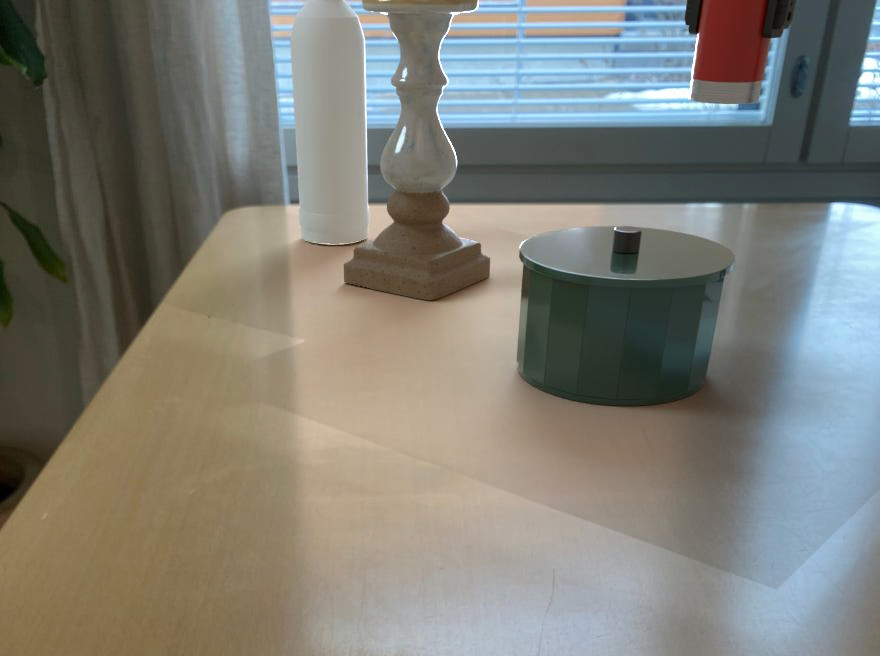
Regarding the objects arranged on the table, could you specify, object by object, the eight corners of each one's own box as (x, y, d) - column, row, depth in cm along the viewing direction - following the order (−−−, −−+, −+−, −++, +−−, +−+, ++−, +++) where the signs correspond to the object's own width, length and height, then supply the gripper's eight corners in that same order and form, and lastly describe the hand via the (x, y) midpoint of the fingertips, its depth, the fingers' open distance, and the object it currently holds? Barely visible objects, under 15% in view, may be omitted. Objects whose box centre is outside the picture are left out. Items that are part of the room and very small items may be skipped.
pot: (581, 329, 86) (592, 226, 81) (737, 367, 78) (760, 256, 73) (481, 374, 77) (486, 261, 72) (646, 422, 69) (665, 299, 64)
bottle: (382, 240, 112) (379, -87, 94) (323, 249, 108) (308, -88, 91) (345, 226, 117) (336, -85, 100) (288, 235, 113) (267, -86, 96)
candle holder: (404, 259, 105) (405, -8, 91) (492, 275, 99) (506, -5, 86) (341, 283, 97) (331, -4, 84) (432, 301, 92) (438, -1, 78)
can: (745, 95, 83) (768, -34, 78) (769, 104, 78) (796, -32, 73) (679, 95, 83) (698, -34, 77) (699, 104, 78) (721, -33, 73)
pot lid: (589, 232, 82) (593, 197, 80) (767, 264, 73) (776, 226, 72) (476, 270, 72) (478, 231, 70) (667, 312, 64) (673, 269, 62)
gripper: (906, -252, 66) (841, 38, 76) (713, -232, 74) (676, 29, 84) (865, -267, 62) (801, 43, 72) (663, -244, 70) (630, 33, 79)
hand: (734, 34), depth 78 cm, fingers closed on can, 5 cm apart
